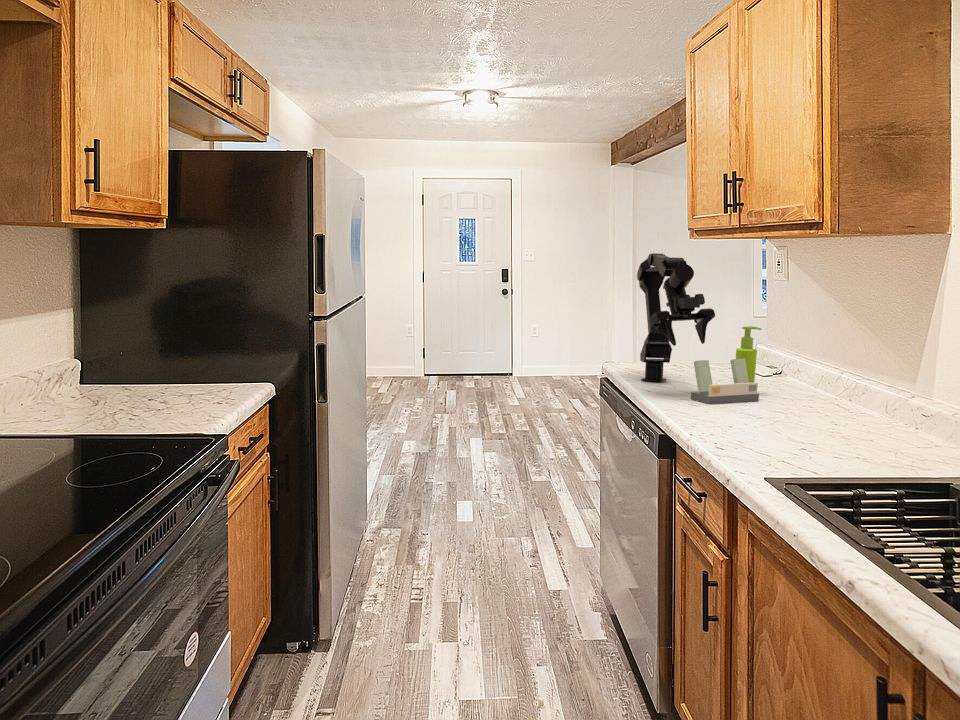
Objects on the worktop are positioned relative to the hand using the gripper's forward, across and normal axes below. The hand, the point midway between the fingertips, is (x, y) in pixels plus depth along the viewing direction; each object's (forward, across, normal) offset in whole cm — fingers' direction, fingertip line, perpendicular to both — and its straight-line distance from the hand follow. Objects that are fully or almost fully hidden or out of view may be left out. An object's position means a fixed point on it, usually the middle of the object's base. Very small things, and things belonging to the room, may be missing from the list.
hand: (689, 344), depth 237 cm
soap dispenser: (+13, +20, +10) cm, 26 cm away
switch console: (+18, +7, 0) cm, 19 cm away
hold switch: (+16, +13, 0) cm, 21 cm away
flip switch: (+16, 0, -2) cm, 16 cm away
